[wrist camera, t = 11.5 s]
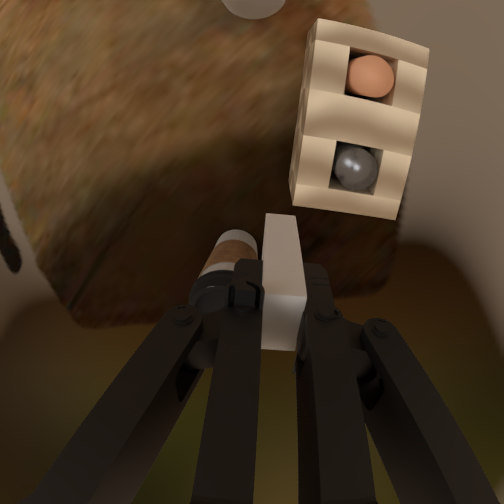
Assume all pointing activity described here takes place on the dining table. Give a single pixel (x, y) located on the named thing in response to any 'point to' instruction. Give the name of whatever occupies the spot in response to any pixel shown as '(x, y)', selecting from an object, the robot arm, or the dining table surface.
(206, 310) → the coffee cup
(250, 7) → the cup
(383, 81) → the peg terracotta
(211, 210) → the dining table surface
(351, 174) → the peg steel
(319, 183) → the birch block
